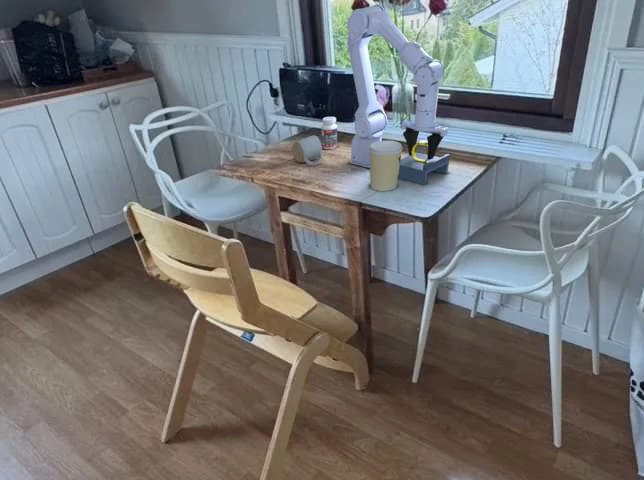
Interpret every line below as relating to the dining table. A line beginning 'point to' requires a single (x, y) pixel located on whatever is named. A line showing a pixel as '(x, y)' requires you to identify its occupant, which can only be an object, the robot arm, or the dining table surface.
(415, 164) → the blue stand
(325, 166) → the dining table surface
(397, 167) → the coffee cup
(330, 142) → the pill bottle
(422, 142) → the watch
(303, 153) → the ceramic mug
